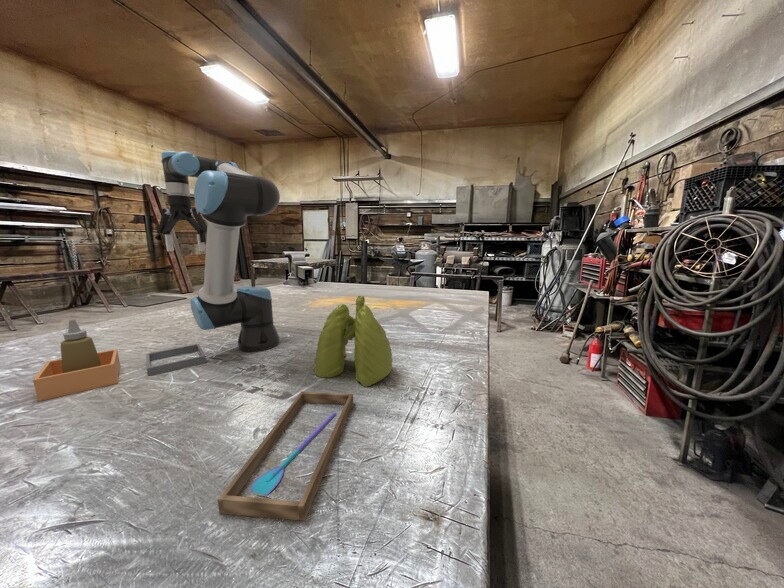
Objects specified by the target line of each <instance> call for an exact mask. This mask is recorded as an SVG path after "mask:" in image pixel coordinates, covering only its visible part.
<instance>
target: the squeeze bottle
mask: <svg viewBox="0 0 784 588" xmlns="http://www.w3.org/2000/svg"><path fill="white" fill-rule="evenodd" d="M67 329H68V331H67V332H64V333H63V340H62V342H60V355H61V357H60V359H62V371H63V373H67V372H72V371H77V370H82V369H87V368H92V367H98V366H100V365H101V362H100V359H99V357H98V354H97V353H98V352H97V348H96V346H95V343H94V341H93V338H92V337H91V336H88V335H87V330H86V329H81V328H80V327H79V324H78V322H77V321H76V319H69V320H68V328H67Z"/></svg>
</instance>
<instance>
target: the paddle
mask: <svg viewBox="0 0 784 588" xmlns="http://www.w3.org/2000/svg"><path fill="white" fill-rule="evenodd" d="M336 416H337V413H336V412H335V411H334V412H331V414H330V415H329V416H328V417H327V418H326V419H325V420H324V421H323V422H322V423H321V424H320V425H319V426H318V427H317V428H316V429H315V430H314V431H313V432H312V433H311V434H310V435H308V437H307V438H306V439H305V440H304V441H303V442H301V444H300V445H299V446H298V447H297V448H296V449H295V450H294V451H293V452H292V453H291V454H290V455H289V456H288V457H287V458H286V459H285V460H284V461H283V462H282V463H281V464H280V465H279V466H278V467H275V468H272V469H270V470H268V471H266V472H265V473H263V474H261V475H260V476H259V477H258V478H257V479H255V481H254V482H253V483H252V485H251V487H250V492H252V493H255V494H258V495H262V496H264V497H265V496H267V495H270V493H272V492H273V491H274V489H275V488H276V487H278V485H279V483H280V481H281V480H282V478H283V475H284V469H285V467H287V465H289V463H291V462H292V461H293V459H294V458H295V457H297V456H298V454H300V453H301V452H302V451H303V450H304V449H305V447H307V446H308V445H309V443H310V442H312V441H313V439H314V438H315V437H316V436H317V435H318V434H319V433H320V432H321V431H322V430H323V429H325V427H326V426H327V425H328V424H329V423H330V422H331V421H332V420H333V419H334V418H335V417H336Z"/></svg>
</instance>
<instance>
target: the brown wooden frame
mask: <svg viewBox="0 0 784 588" xmlns="http://www.w3.org/2000/svg"><path fill="white" fill-rule="evenodd" d="M305 403H308V404H309V403H310V404H313V403H314V404H328V405H330V404H331V405H344V406H343V408H342V411H341V412H340V414H339V417H338V418H337V421H336V423H335V426H334V427H333V430H332V432H331V434H330V436H329V439H328V440H327V443H326V445H325V447H324V448H323V452H322V454H321V456H320V458H319V460H318V462H317V464H316V467H315V469H314V471H313V473H312V476H311V478H310V480H309V482H308V483H307V486H306V488H305V491H304V492H303V494H302V497H301V499H300V500H288V499H275V498H265V497H264V498H262V497H251V496H250V497H249V496H240V492H241V491H242V490H243V488H244V487H245V485H246V484H247V483H248V481H249V480H250V478H251V477H252V475H253V474H254V473H255V471H257V468H259V465H260V464H261V463H262V461H263V460H264V459H265V458H266V456H268V455H267V454H268V453H270V451H271V449H272V448H273V446H274V445H275V444H276V442H277V440H278V439H279V438H280V436H281V435H282V434H283V433H284V431H285V429H286V428H287V426H288V425H289V424H290V423H291V421H292V420H293V418H294V417H295V415H296V414H297V413H298V411H299V410H300V408H302V406H303V405H304V404H305ZM353 405H354V394H353V393H337V392H336V393H335V392H313V391H310V392H309V391H300V393H299V394H298V395H297V397H296V398H295V400H294V401H293V402H292V403H291V404H290V406H289V407H288V408H287V409H286V411H285V412H284V414H283V415H282V416H281V417H280V418H279V420H278V421H277V422H276V423H275V425H274V426H273V427H272V429H271V430H270V432H269V433H268V434H267V435H266V436H265V438H264V439H263V441H261V442H260V444H259V445H258V447H257V448H256V449H255V450H254V451H253V453H252V454H251V455H250V457H249V458H248V460H247V461H246V462H245V463H244V464H243V466H241V468H240V470H239V471H238V472H237V473H236V475H235V476H234V477H233V479H232V480H231V481H230V483H229V484H228V485H227V486H226V488H225V489H224V490H223V491H222V493H221V494H220V495H219V497H218V498H217V505H218V513H219V514H226V515H236V516H237V515H239V516H248V517H249V516H250V517H260V518H270V519H271V518H272V519H282V520H292V521H294V520H295V521H305V520H306V518H307V516H308V512H309V511H310V508H311V506H312V503H313V501H314V499H315V497H316V494H317V492H318V490H319V487H320V484H321V482H322V479H323V477H324V474H325V472H326V469H327V468H328V464H329V463H330V461H331V458H332V456H333V453H334V450H335V448H336V446H337V443H338V441H339V438H340V436H341V434H342V431H343V429H344V427H345V425H346V421H347V420H348V416H349V414H350V412H351V409H352V407H353ZM238 495H239V496H238Z"/></svg>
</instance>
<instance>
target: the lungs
mask: <svg viewBox="0 0 784 588" xmlns="http://www.w3.org/2000/svg"><path fill="white" fill-rule="evenodd" d="M365 300H366V299H365V296H364V295H358V296H357V297H356V299H355V317H353V316H351V315H350V309H349V308H348V306H347V305H346V304H345V303H342V304H339V305H338V306H336V307H335V308H334V309H333V310H332V311H331V312H330V313H329V315H328V316H327V318H326V320H325V323H324V324H323V327H322V329H321V330H322V331H321V332H320V334H319V337H318V342H317V346H316V347H317V348H316V350H315V358H314V365H315V366H314V369H313V370H314V373H315V375H316V376H317V377H320V378H323V379H324V378H334V377H337V376H339V375H341V374H342V373H343V372H344V369H345V368H344V367H345V366H344V365H345V362H346V360H345V359H346V358H347V348H346V346H347V345H348V344H349V341H352V340H353V339H354V355H353V356H354V366H355V378H356V381H357V382H359V383H360V384H361V385H362V386H363V387H364V388H365V387H366V388H367V387H371V386H372V385H374V384H376V383H377V382H380V381H381V380H383V379H384V378H385V377H387V376H388V375H389V374H390V373H391V371H393V370H392V369H393V353H392V348H391V343H390V340H389V339H388V337H387V333H386V330H385V329H384V327H383V326H382V325H381V324H380V323H379V321H378V320H377V318H376V317H375V315H374V314H373V312H372V310H371V308H370V307H369V306H368V305H366V304H365V303H366V301H365Z"/></svg>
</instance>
